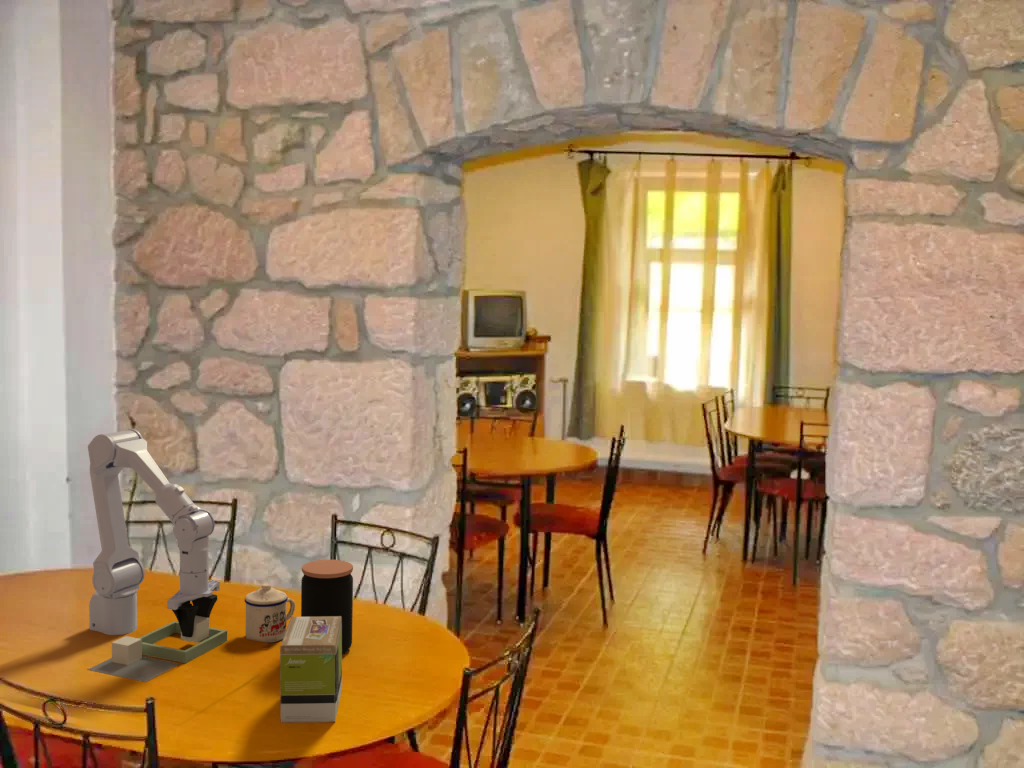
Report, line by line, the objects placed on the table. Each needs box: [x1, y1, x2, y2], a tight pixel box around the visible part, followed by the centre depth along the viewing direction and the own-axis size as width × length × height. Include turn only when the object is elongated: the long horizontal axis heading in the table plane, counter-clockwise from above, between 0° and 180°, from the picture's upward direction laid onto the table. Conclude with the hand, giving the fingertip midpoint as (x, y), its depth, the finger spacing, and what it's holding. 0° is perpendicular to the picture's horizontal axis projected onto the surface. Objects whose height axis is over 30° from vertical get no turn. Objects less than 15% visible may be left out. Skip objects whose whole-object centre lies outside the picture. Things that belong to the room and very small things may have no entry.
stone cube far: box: [180, 616, 210, 644], centre depth 214 cm, size 4×4×4 cm
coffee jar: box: [300, 559, 354, 655], centre depth 216 cm, size 11×11×18 cm
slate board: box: [87, 655, 181, 683], centre depth 203 cm, size 14×10×1 cm
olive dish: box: [138, 620, 228, 664], centre depth 214 cm, size 14×14×3 cm
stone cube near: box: [111, 635, 143, 665], centre depth 205 cm, size 4×4×4 cm
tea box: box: [279, 615, 343, 723], centre depth 189 cm, size 15×10×15 cm
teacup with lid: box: [244, 583, 296, 644], centre depth 223 cm, size 12×9×12 cm
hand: (194, 632), depth 214 cm, fingers closed on stone cube far, 4 cm apart
